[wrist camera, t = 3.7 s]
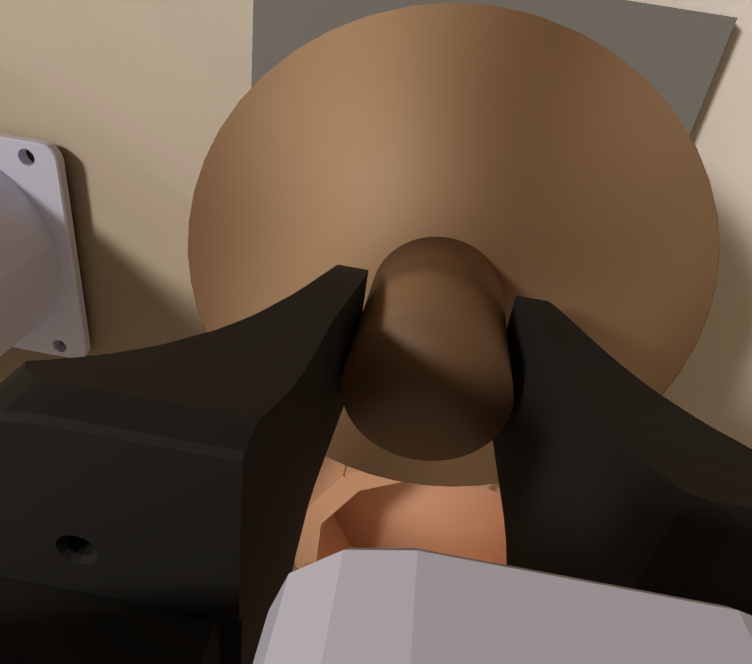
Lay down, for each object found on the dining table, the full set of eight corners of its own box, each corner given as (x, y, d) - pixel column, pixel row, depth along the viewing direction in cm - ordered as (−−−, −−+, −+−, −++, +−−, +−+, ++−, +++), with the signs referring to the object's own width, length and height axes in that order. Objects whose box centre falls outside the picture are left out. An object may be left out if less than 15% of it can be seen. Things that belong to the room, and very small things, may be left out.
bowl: (307, 551, 27) (288, 622, 24) (328, 374, 21) (306, 436, 18) (524, 593, 26) (533, 670, 23) (597, 424, 21) (620, 495, 18)
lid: (206, 421, 16) (130, 547, 13) (195, -42, 11) (48, -60, 7) (600, 499, 16) (640, 655, 12) (813, 55, 10) (1014, 93, 6)
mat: (249, 337, 21) (245, 343, 21) (259, -58, 15) (254, -59, 15) (578, 397, 21) (580, 404, 20) (730, 17, 14) (737, 17, 14)
